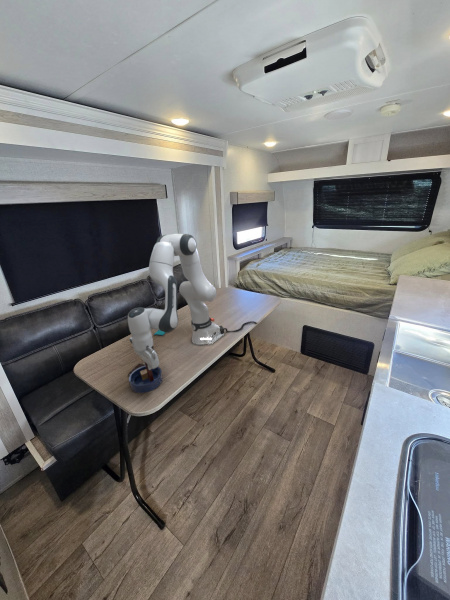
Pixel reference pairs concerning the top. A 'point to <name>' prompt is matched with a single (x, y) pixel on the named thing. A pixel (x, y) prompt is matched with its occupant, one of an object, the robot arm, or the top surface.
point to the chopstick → (149, 373)
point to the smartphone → (159, 333)
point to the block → (144, 374)
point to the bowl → (145, 385)
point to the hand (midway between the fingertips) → (148, 367)
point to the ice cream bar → (136, 368)
